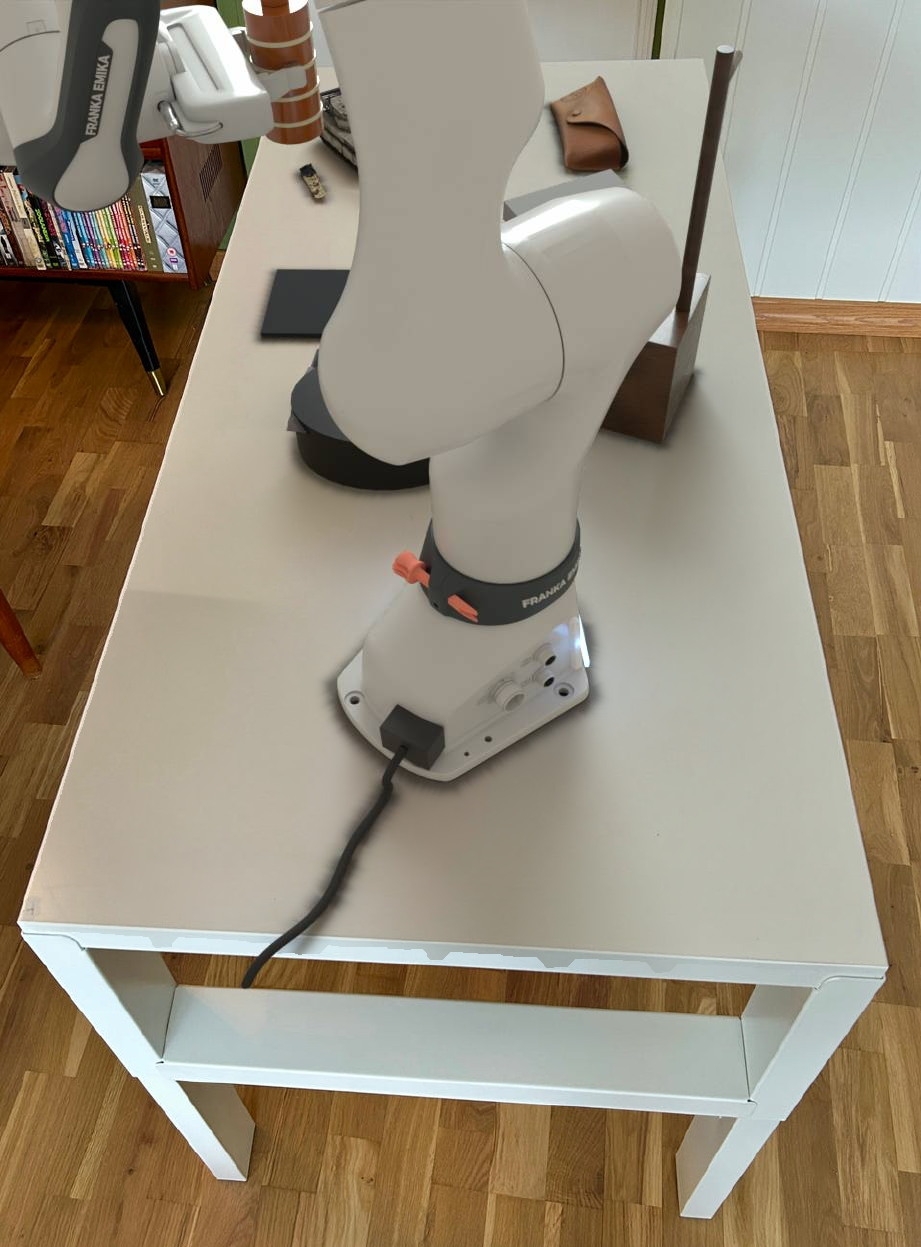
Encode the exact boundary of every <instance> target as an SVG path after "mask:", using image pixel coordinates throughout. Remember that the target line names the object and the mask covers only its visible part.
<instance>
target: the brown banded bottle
mask: <svg viewBox="0 0 921 1247" xmlns="http://www.w3.org/2000/svg"><path fill="white" fill-rule="evenodd" d="M241 10H242V14H243V20H244V27H245V36H246V38H247V40H248V44H249V49H250V52H249V63H250V65H251V66H252V68H253V70H254V71H255V73H256V74H260V73H265V72H267V73H268V75H270V74H272V73H274V72H276V71H279V70H281V69H283V68H282V64H286V63H292V62H295V61H297V62H299V63H300V64H301V66H302V67H303V68H304V70H305V73H306V80H307V84H306V86H304V87H303V88H298V89H294V90H290V91H289V92H288V93H286V94H285V95H283V96H282V97H281V98H279V99H278V100H277V101H275V102H271V107H272V113H273V120H274V128H273V129H272V130H271V131H270V132H269V133H267V134H266V135H264V136H265V138H266V139H268V140H269V141H271V142H272V143H276V144H280V145H287V146H288V145H289V146H292V145H301V144H306V143H308V142H311V141H313V140H316V139H317V138H318V137H319V135H320V134H321V133H322V132H323V129H324V122H323V115H322V112H323V110H324V107H323V104H322V101H321V100H322V99H320V93H321V91H320V86H321V80H320V76H319V75H318V69H317V59H318V58H317V51H316V49H315V45H314V37H313V32H314V25H313V21H311V14H310V6H309V0H242V1H241Z"/></svg>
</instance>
